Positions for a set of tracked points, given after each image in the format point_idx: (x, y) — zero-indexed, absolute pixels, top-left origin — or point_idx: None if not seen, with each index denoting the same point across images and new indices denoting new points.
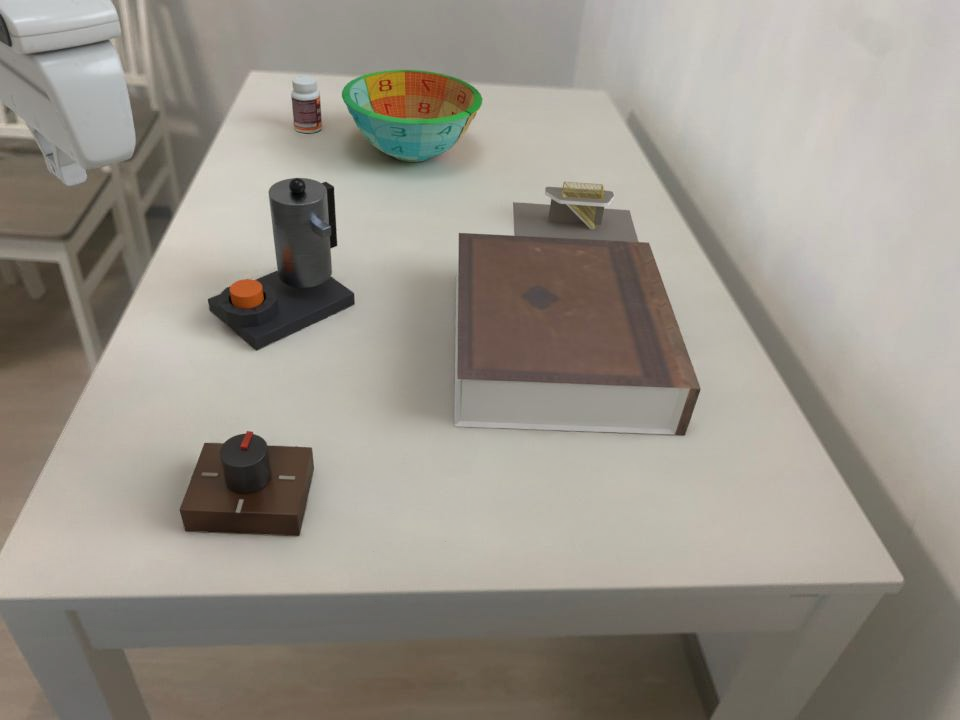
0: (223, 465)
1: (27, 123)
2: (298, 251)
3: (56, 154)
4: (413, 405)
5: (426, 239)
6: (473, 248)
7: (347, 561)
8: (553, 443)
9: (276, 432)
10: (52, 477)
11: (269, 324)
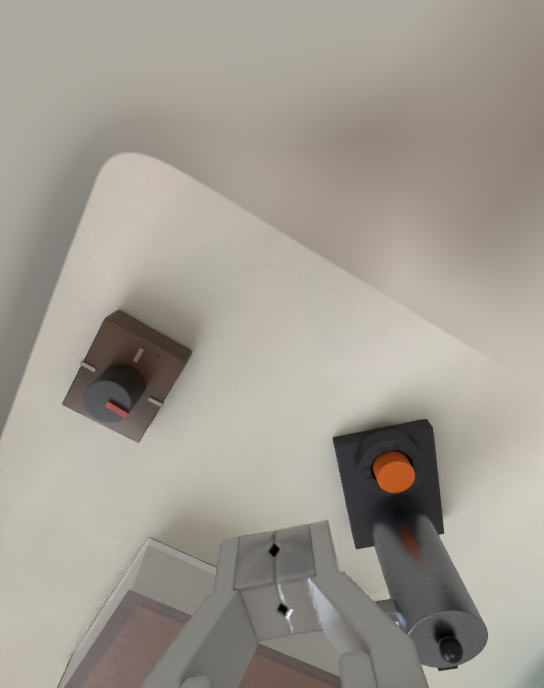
0: (102, 377)
1: (406, 662)
2: (391, 560)
3: (168, 652)
4: (188, 522)
5: None
6: (319, 681)
7: (38, 412)
8: (99, 586)
9: (207, 415)
10: (242, 212)
11: (351, 466)
